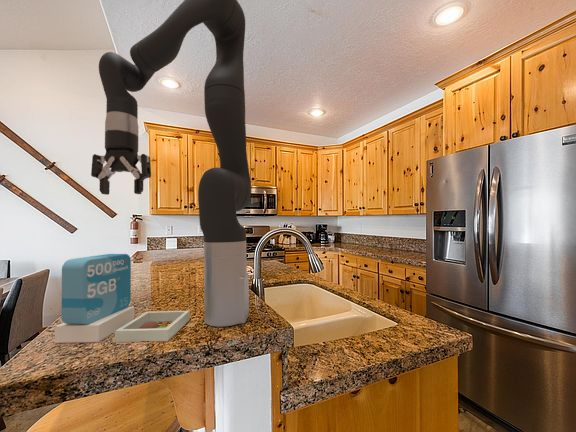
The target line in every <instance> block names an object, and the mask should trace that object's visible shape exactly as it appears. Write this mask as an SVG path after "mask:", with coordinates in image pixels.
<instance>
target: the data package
mask: <svg viewBox="0 0 576 432" xmlns="http://www.w3.org/2000/svg"><path fill="white" fill-rule="evenodd" d="M131 260H132V258H131V257H130V255H129V254H128V253H105V254H100V255H98V254H97V255H91V256H83V257H77V258H76V257H75V258H70V259H67V260H66V261H64V263H63V264H62V267H61V302H60V303H61V305H60V307H61V308H60V309H61V315H60V316H61V317H60V318H61V321H62V323H63V322H64V323H66V324H90V323H92V322H94V321H97V320H99V319H102V318H104V317H106V316H109V315H111V314H113V313H116V312H118V311H120V310H123V309H125V308H127V307H129V305H130V304H131V300H132V298H131V296H132V295H131V294H132V293H131V292H132V291H131V285H132V284H131V280H132V279H131V277H132V276H131V275H132V273H131V271H132V270H131V267H132V265H131V264H132V263H131Z"/></svg>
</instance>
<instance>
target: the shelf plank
mask: <svg viewBox="0 0 576 432" xmlns="http://www.w3.org/2000/svg"><path fill="white" fill-rule="evenodd" d="M134 319H135V306H128V307H127V308H125V309H123V310H120V311H118V312H116V313H113V314H111V315H109V316H106V317H104V318H102V319H99V320H97V321H94V322H92V323H90V324H66V323H64V322H63V321H62V322H60V323H59V324H57V325H54V335H53V336H54V337H53V338H54V344H66V343H67V344H69V343H70V344H71V343H73V344H74V343H75V344H76V343H99V342H101V341H102V340H105V338H107V337H109V336H110V335H112V334H115V331H116V330H117V329H119V328H121V327H122V326H124V325H126V324H127V323H129V322H131V321H132V320H134Z"/></svg>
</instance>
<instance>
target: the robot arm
mask: <svg viewBox="0 0 576 432" xmlns="http://www.w3.org/2000/svg"><path fill="white" fill-rule="evenodd" d="M200 24H203V25H204V26H205V27H206V28H207V29H208V30H209V32H211V34H212V36H213V38H214V41H215V54H216V55H215V56H216V58H215V64H214V65H213V66H212V68H211V70H210V71H209V72H208V75H207V76H206V79H205V81H204V89H203V91H204V94H203V95H204V97H203V99H204V113H205V118H206V122H207V125H208V128H209V130H210V133H211V135H212V138H213V140H214V142H215V144H216V148H217V152H218V157H219V167H212V168H209V169H207V170H206V171H205V172H204V173H203V174H202V176H201V178H200V181H199V184H198V193H197V196H198V200H197V201H198V218H199V226H200V230H201V232H202V236H203V269H204V270H203V275H204V276H203V277H204V278H203V285H204V286H203V290H204V293H203V294H204V295H203V299H204V305H203V306H204V323H205V324H206V325H208V326H211V327H219V328H220V327H230V326H235V325H240V324H245V323H246V322H247V319H248V317H249V315H250V295H249V294H250V290H249V289H250V288H249V287H250V283H249V282H250V281H249V272H247V270H248V268H247V264H248V263H247V259H248V258H247V231H246V229H245V227H244V226H243V225H242V224H241V223H240V222H239V220H238V215H237V212H241V211H242V210H244V209H245V208H246V207H247V206H248V204H249V202H250V200H251V196H252V182H251V176H250V168H249V162H248V153H247V133H246V132H247V131H246V130H247V129H246V128H247V127H246V95H245V94H246V91H245V74H244V73H245V71H244V69H245V67H244V52H245V51H244V49H245V38H246V37H245V35H246V16H245V13H244V10H243V8H242V5H241V4H240V3H239V2H238V0H183V1H182V2H181V3H180V4H179V5H178V6H177V7H176V9H174V10H173V12H172V13H171V14H170V15H169V16H168V17H167V18H166V19H165V20H164V22H162V23H161V24H160V26H158V27H157V28H156V29H154V30H153V31H152V32H151V33H149V34H147V36H145V37H143V38H141V40H139V41H137V42H136V43H135V44H133V45H132V46H131V47H130V50H129V55H130V59H131V60H132V61H133V63H134V64H133V63H132V62H131V61H129V60H127V59H126V58H125V57H123V56H121V55H120V54H118V53H116V52H113V51H108V52H105V53H103V54H102V56H101V57H100V59H99V62H98V73H99V77H100V78H99V79H100V81H101V85H102V87H103V88H102V89H103V91H104V95H105V98H106V112H105V115H106V117H105V119H104V120H105V121H104V149H105V154H104V155H100V154H96V153H94V154H92V162H91V173H90V175H91V177H92V178H96V179H98V180H99V192H100V194H101V195H107V196H108V195H110V178H112V176H114V175H115V174H116V173H124V172H125V173H131V175H132V176H133V177H134V180H133V181H134V182H133V183H134V184H133V188H134V189H133V192H134V194H135V195H142V193H143V192H144V181H145V180H146V179H150V178H151V177H152V167H151V157H150V156H149V155H147V154H145V153H142V154H141V155H139V154H138V153H139V123H138V119H139V118H138V117H139V116H138V107H139V106H138V100H137V99H136V98H135V97H134V96H133V95H132V94H131V93H135V92H136V93H137V92H140V91H142V90H143V89H144V88H145V86H146V85H147V83H148V82H149V81H150V80H151V79H152V77H153V76H154V75H155V73H157V72H158V71H160V70H162V69H164V68H165V67H167V66H168V65H170V64H171V63H172V62H173V61H174V60H175V59H176V58H177V57H178V54H179V52H180V51H181V47H182V45H183V42H184V41H185V38H186V36H187V34H188V33H189V31H191V30H192V29H193V28H195V27H196V26H199V25H200ZM130 92H131V93H130ZM138 162H139V163H140V168H141V170H140V169H139V167H138V166H137V164H138Z"/></svg>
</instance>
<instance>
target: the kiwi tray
mask: <svg viewBox="0 0 576 432" xmlns="http://www.w3.org/2000/svg"><path fill="white" fill-rule="evenodd" d="M190 320H191V311H190V310H170V311H169V310H167V311H166V310H163V311H162V310H161V311H158V310H156V311H146V312H143V313H142V314H141V315H139V316H137V317H136V318H134V320H132V321H131V322H129V323H127V324H126V325H124V326H122V327H121V328H119V329H117V330H116V331H115V332H114V343H142V342H141V341H149V342H168V341H170V339H172V338H173V337H174V336H175V335H176V334H177V333H178V332H179V331H180V330H181V329H183V327H184V326H186V324H187V323H189V321H190ZM149 321H154V322H157V323H160V322H162V323H163V322H165V323H166V322H170V324H168V325H166V326H167V327H166V328H153V329H139V327H140V326H141V325H142V324H144V323H146V322H149Z"/></svg>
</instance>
